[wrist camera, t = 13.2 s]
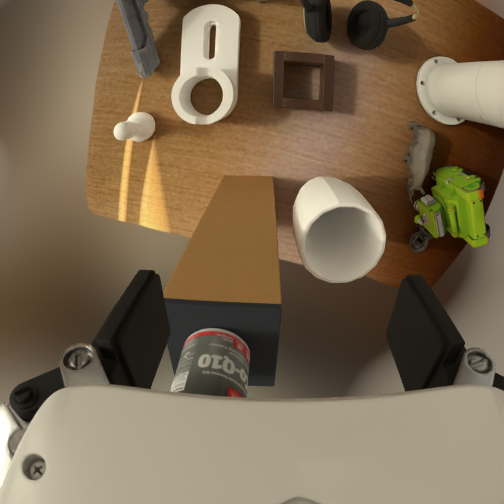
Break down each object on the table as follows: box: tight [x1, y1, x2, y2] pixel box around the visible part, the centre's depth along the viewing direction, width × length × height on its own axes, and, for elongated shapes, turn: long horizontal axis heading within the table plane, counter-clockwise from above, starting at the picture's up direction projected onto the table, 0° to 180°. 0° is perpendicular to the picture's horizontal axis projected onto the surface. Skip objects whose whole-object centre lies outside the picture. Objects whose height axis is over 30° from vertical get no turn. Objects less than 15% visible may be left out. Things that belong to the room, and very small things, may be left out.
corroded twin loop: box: [410, 225, 435, 253], centre depth 52 cm, size 5×8×1 cm, turn 146°
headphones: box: [300, 0, 419, 50], centre depth 28 cm, size 9×15×20 cm, turn 88°
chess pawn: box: [114, 112, 155, 142], centre depth 43 cm, size 5×5×9 cm
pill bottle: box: [170, 328, 250, 398], centre depth 18 cm, size 5×5×8 cm
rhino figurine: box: [402, 121, 435, 202], centre depth 44 cm, size 4×14×6 cm, turn 177°
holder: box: [273, 51, 334, 111], centre depth 41 cm, size 9×9×4 cm
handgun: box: [117, 0, 160, 78], centre depth 34 cm, size 3×22×15 cm
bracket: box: [172, 4, 241, 124], centre depth 39 cm, size 20×9×7 cm, turn 178°
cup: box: [293, 177, 386, 283], centre depth 41 cm, size 10×10×22 cm
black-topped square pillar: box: [163, 176, 282, 386], centre depth 37 cm, size 8×8×35 cm
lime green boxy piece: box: [414, 165, 490, 248], centre depth 44 cm, size 13×16×14 cm
